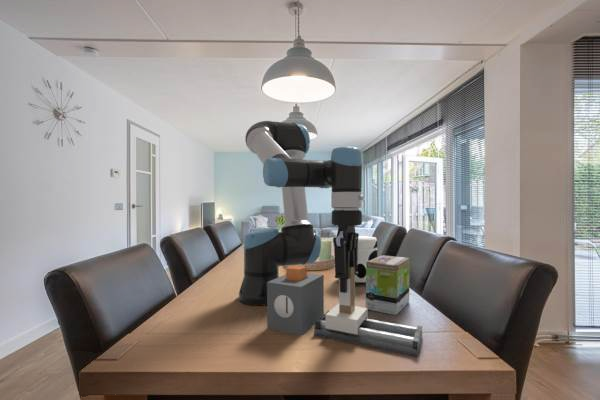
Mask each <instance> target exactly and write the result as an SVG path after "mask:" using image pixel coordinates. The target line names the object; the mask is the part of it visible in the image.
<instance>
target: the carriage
mask: <svg viewBox="0 0 600 400" xmlns="http://www.w3.org/2000/svg"><path fill="white" fill-rule="evenodd" d="M349 279H350V306H346V305H339V303H337V304H336V305H334V306H333V308H331V309H330V310H328V311H329V312H328V313H327V314H326V319H325V328H327V329H332V330H337V331H342V332H347V333H352V334H358V327H359V326H360V325H361V324H362V322H363V321H364V320H365V319H369V316H368V314H369V313H368V311H369V310H368V308H366V307H362V306H357V305H355V303H356V284H355V270H354V267H350V266H349Z"/></svg>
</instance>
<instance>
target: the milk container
mask: <svg viewBox="0 0 600 400" xmlns="http://www.w3.org/2000/svg"><path fill="white" fill-rule="evenodd" d="M376 257H378V239H377V237H375V236H370V235H368V236H367V235H359V237H358V265H357V268H358V269H357V271H356V272H358V275H355V285H366V262H367V261H369V260H372V259H374V258H376Z"/></svg>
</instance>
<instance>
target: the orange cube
mask: <svg viewBox="0 0 600 400" xmlns="http://www.w3.org/2000/svg"><path fill="white" fill-rule="evenodd" d="M307 273H308V266H304V265H289V266H288V267H286V268H285V274H286V280H293V281H303V280H305V279H307Z"/></svg>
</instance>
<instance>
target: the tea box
mask: <svg viewBox="0 0 600 400" xmlns="http://www.w3.org/2000/svg"><path fill="white" fill-rule="evenodd" d="M410 263H411V262H410V257H404V256H393V255H383V254H382V255H379V256H378V255H377V257H376V258H374V259H372V260H369V261H367V262H366V284H365V308H368V311H373V312H378V313H382V314H389V315H394V316H397V315H398V314H399V313H400V312H401V311H402V310H403V308H404V307H405V306H406V305H407V304H408V303H409V302H410V278H411V277H410V275H411V274H410V273H411V272H410V268H411V264H410Z"/></svg>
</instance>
